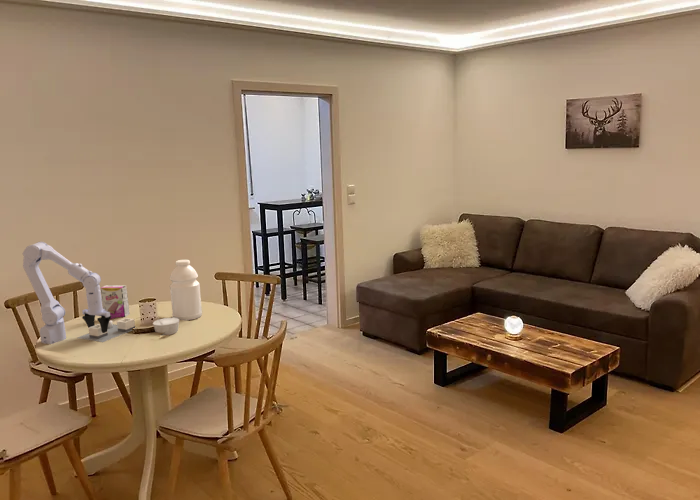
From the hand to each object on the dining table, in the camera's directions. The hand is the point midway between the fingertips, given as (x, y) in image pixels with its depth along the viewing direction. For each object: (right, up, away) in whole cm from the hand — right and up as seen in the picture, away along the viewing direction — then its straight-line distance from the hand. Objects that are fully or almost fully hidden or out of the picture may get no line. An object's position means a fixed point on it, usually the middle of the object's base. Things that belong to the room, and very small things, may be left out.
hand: (98, 331), depth 249 cm
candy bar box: (-4, +2, +31) cm, 31 cm away
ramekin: (+28, -2, +8) cm, 29 cm away
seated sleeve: (+9, 0, +8) cm, 12 cm away
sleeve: (0, -2, 0) cm, 2 cm away
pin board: (+2, -3, +5) cm, 6 cm away
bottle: (+30, +3, +30) cm, 43 cm away
